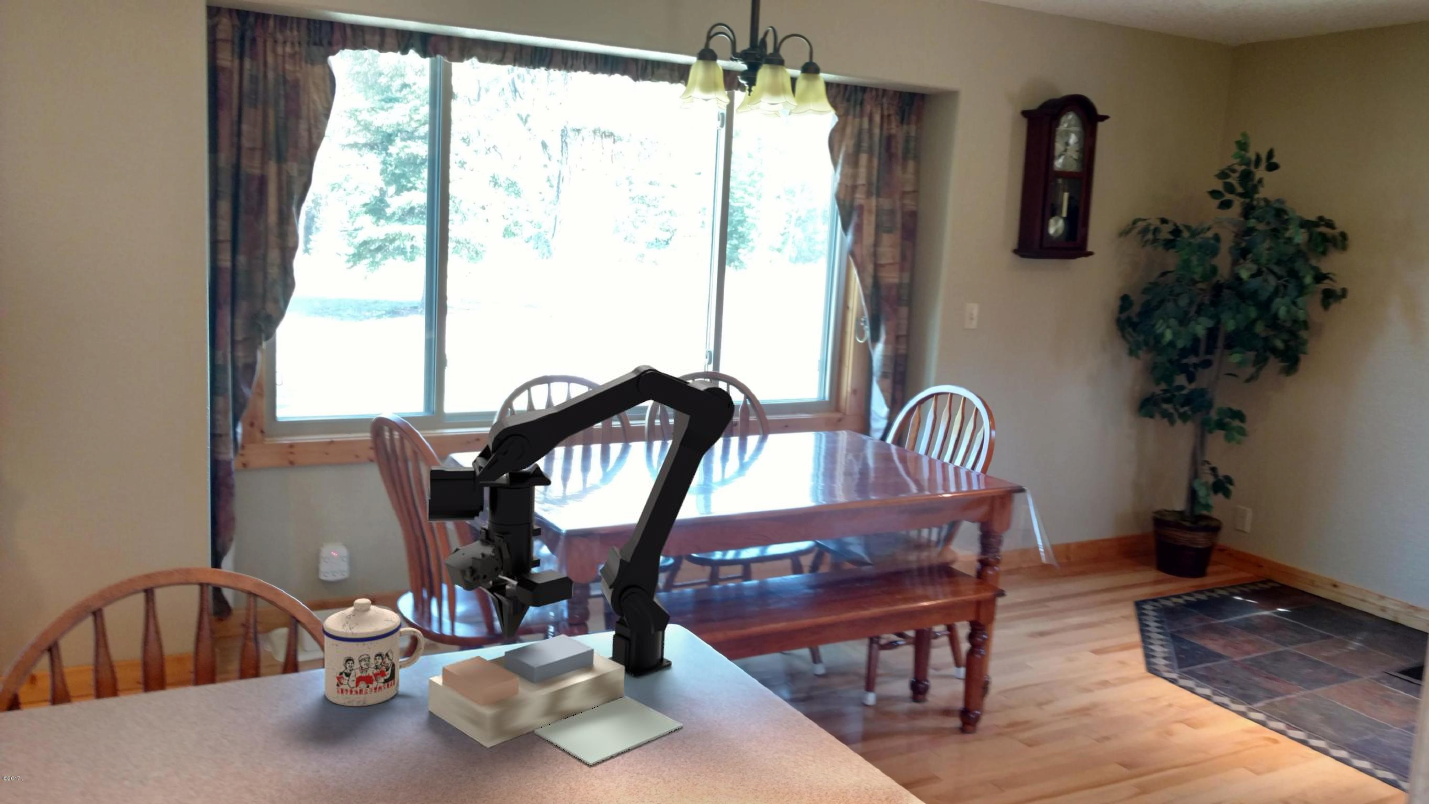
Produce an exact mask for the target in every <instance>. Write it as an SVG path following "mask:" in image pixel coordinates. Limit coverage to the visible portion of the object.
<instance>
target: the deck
mask: <svg viewBox="0 0 1429 804" xmlns="http://www.w3.org/2000/svg"><path fill="white" fill-rule="evenodd" d="M608 658H609V657H605V656H604V655H601V654H600V653H597V652H595V651H594V660H593V664H592V665H589V666H586V667H583V668H580V669H577V670H574V671H571V672H568V673H565V674H562V675H559V676H556V677H553V678H550V679H547V680H544V681H541V682H538V683H535V684H534V683H532V682H530V681H528V680H526V679H524V678H523V677H521V676H519V675H517V674H515V673H513V672H511V671H510V670H508V669H506V668H504V655H502V656H498V657H495V658H492V659H489V660H488V659H487V660H488V661H489V662H491V663H493V664H495V665H497V666H499V667H501V668H502V669H504V670H506V671H508V672H510V673H512V674H513V675H515V676H517V677H519V689H518V694H516V695H513V696H510V697H507V698H505V699H502V700H499V701H496V702H493V703H490V704H487V705H484V706H480V705H479V704H477V703H475V702H474V701H472V700H470V699H469V698H467V697H465V696H464V695H462V694H460V693H458V692H457V691H455V690H453V689H452V688H450V687H448V686H447V685H445V684H443V683H442V674H438V675H435V676H433V677H430V678H428V711H430V712H431V713H432V714H434V715H435V716H436V717H438V718H440V719H442V720H444V721H445V722H446V723H448V724H450V725H451V726H453V727H454V728H456V729H458V730H459V731H461V732H462V733H464V734H466V735H467V736H469V737H470V738H471V739H473V740H475V741H477V742H478V743H480V744H481V745H482V746H484V747H486V748H490V747H494V746H495V745H499V744H501V743H504V742H506V741H509V740H512V739H515V738H517V737H519V736H520V737H521V736H523V735H526V734H528V733H530V732H533V731H534V730H537V729H539V728H541V727H545V726H547V725H549V724H553V723H555V722H558V721H559V720H560V721H561V720H562V719H565V718H567V717H568V718H569V717H571V716H573V715H575V714H576V715H577V714H579V713H581V712H585V711H587V710H590V709H592V708H594V707H595V708H596V707H597V706H601V705H604V704H606V703H608V702H610V701H611V702H612V701H613V700H615V699H620V697H624V693H625V689H624V688H625V672H624V671H625V666H623V665H620V664H618V663H616V662H614V661H612V660H610V659H608Z"/></svg>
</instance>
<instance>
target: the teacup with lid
mask: <svg viewBox="0 0 1429 804" xmlns="http://www.w3.org/2000/svg"><path fill="white" fill-rule="evenodd" d="M321 629H322V634H323V635H324V641H323V642H324V695H325V697H326V698H327V699H328V700H329V701H330V702H332V703H334V704H336V705H341V706H346V707H364V706H367V707H368V706H371V705H372V706H373V705H377V704H381V703H383V702H385V701H387V700H390V699H391V698H392V697H394V696H395V695H396V694H397V693H398V692H399V689H400V670H403V669H406V668H409V667H411V666H413V665H414V664H416V663H417V662H418V661H419V659H420V658H421V656H422V654H423V652H424V649H425V638H424V635H423V634H422V632H421V631H420V630H419V629H416V628H415V627H414V628H413V627H402V620H401V618H400V616H399V615H398V614H397V613H396V612H395V611H393V610H389V609H387V608H382V607H378V606H375V605H372V601H371V600H370V599H368V598H357V599H355V600H354V601H353V606H350V607H348V608H346V609H344V610H341V611H338V612H335V613H333V614H332V615H329V616H328V617H327V618H326V620H324V622H323V625H322V628H321ZM403 636H414V637H416V638H417V645H416V648H415V650H414V652H413V653H412V654H411V656H409V657H408V658H407V659H403V660H400V637H403Z"/></svg>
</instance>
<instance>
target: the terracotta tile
mask: <svg viewBox="0 0 1429 804" xmlns="http://www.w3.org/2000/svg"><path fill="white" fill-rule="evenodd" d="M441 669H442V670H441V671H442V674H441V675H442V683H443V684H445V685H447V686H448V687H450V688H452V689H453V690H455V691H457V692H458V693H460V694H462V695H464V696H465V697H467V698H469V699H470V700H472V701H474V702H475V703H477V704H479V705H480V706H484V705H487V704H490V703H493V702H496V701H499V700H502V699H505V698H507V697H510V696H513V695H516V694H518V689H519V677H517V676H515V675H513V674H512V673H510V672H508V671H506V670H504V669H502V668H501V667H499V666H497V665H495V664H493V663H491V662H489V661H488V659H486V658H484V657H482V656H480V655H476V656H473V657H470V658H466V659H463V660H460V661H457V662H454V663H450V664H447V665H444V666H442V668H441Z"/></svg>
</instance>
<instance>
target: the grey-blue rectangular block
mask: <svg viewBox="0 0 1429 804" xmlns="http://www.w3.org/2000/svg"><path fill="white" fill-rule="evenodd" d="M594 652H595V648H594V647H591V646H589V645H587V644H585V643H583V642H580V641H579V640H576V639H574V638H572V637H570V636H568V635H567V634H564V633H562V634H560V635H556V636H554V637H553V636H552V637H550V638H547V639H543V640H541V641H535V642H533V643H530V644H527V645H526V644H525V645H524V646H520V647H516V648H513V649H510V650H507V651H504V655H503V656H504V668H506V669H508V670H510V671H511V672H513V673H515V674H517V675H519V676H521V677H523V678H524V679H526V680H528V681H530V682H532V683H534V684H535V683H538V682H541V681H544V680H547V679H550V678H553V677H556V676H559V675H562V674H565V673H568V672H571V671H574V670H577V669H580V668H583V667H586V666H589V665H592V664H593V660H594Z"/></svg>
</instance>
